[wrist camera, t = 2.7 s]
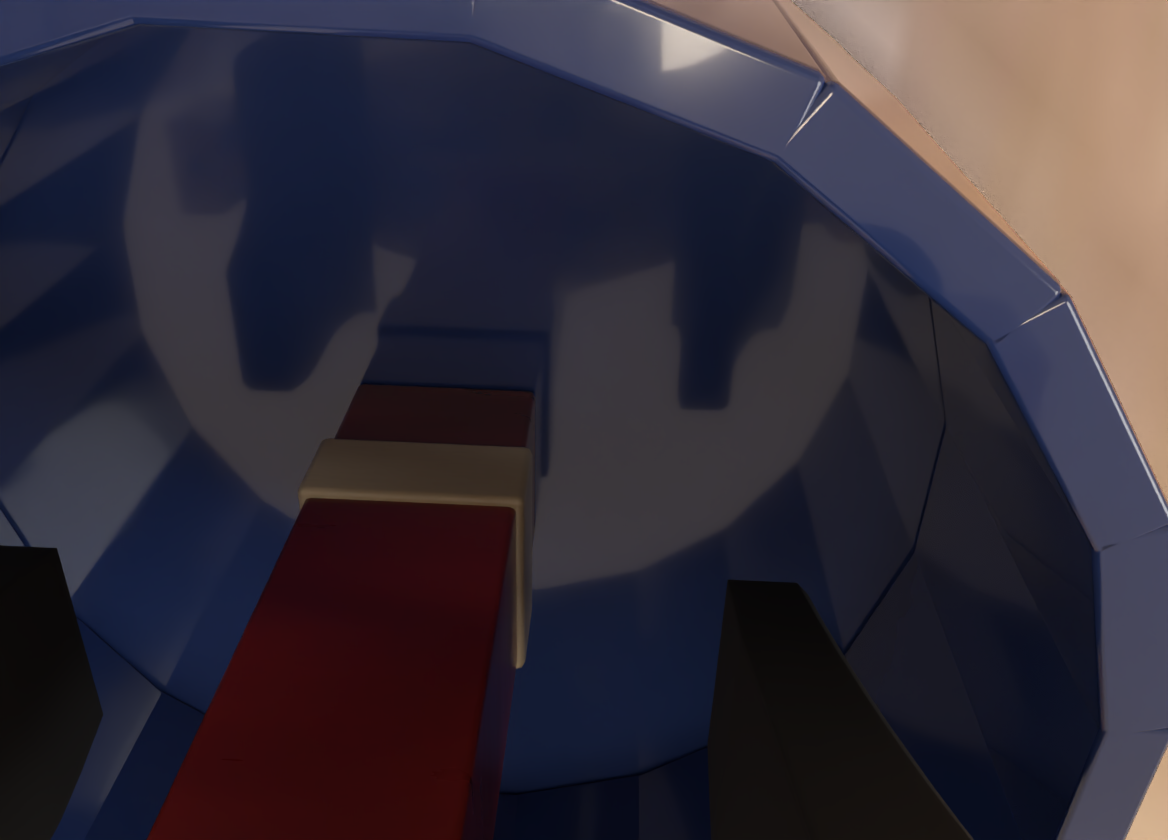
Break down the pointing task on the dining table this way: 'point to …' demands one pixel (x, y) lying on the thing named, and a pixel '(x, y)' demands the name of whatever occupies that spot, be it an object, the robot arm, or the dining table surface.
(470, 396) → the dark red rectangular block
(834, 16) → the dining table surface
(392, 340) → the blue round bowl
